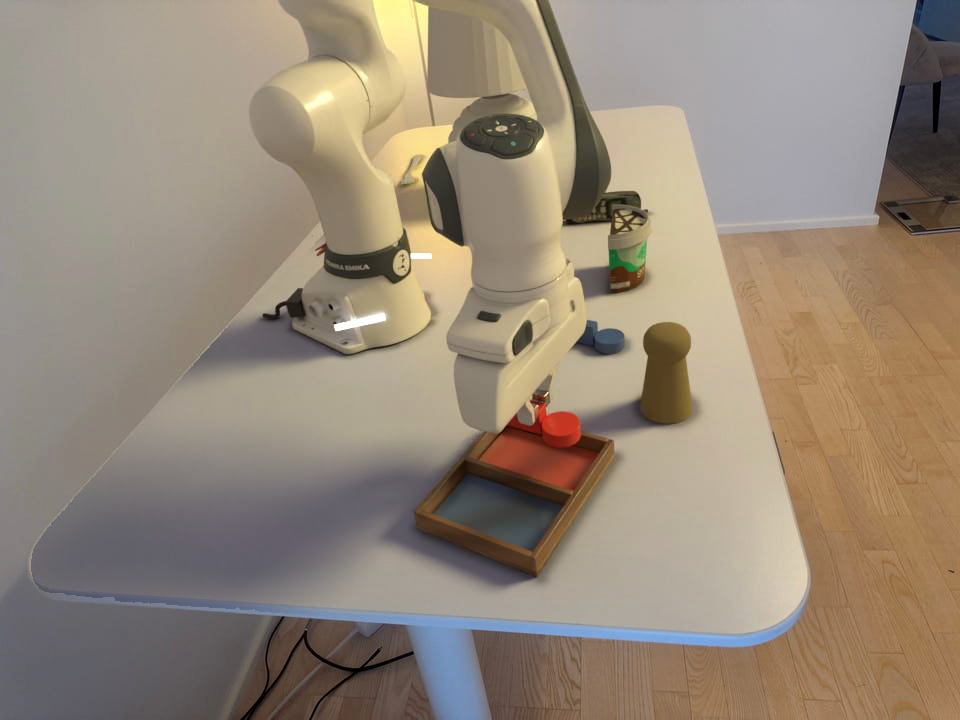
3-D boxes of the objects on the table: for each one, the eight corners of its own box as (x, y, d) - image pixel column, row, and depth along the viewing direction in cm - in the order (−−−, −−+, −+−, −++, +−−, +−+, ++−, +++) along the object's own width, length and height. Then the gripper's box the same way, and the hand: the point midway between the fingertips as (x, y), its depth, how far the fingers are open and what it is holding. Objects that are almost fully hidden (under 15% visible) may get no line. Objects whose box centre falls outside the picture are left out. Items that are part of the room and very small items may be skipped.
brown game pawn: (655, 387, 88) (655, 310, 82) (701, 401, 85) (705, 322, 79) (630, 413, 85) (628, 335, 79) (677, 430, 81) (679, 349, 75)
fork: (424, 155, 179) (423, 148, 178) (412, 190, 159) (410, 182, 158) (412, 156, 179) (410, 149, 178) (397, 192, 159) (396, 184, 158)
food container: (651, 297, 107) (651, 235, 101) (609, 297, 108) (607, 236, 103) (652, 259, 116) (652, 201, 111) (613, 260, 118) (612, 203, 112)
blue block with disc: (544, 340, 101) (542, 322, 99) (556, 326, 103) (555, 308, 102) (617, 356, 95) (617, 337, 93) (629, 341, 98) (628, 322, 96)
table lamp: (592, 183, 148) (583, -35, 126) (511, 229, 134) (485, -8, 112) (502, 167, 164) (479, -30, 142) (421, 206, 150) (382, -6, 128)
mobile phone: (564, 201, 129) (648, 191, 127) (563, 195, 132) (646, 185, 130) (566, 227, 132) (649, 217, 130) (566, 220, 135) (647, 210, 132)
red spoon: (479, 425, 78) (475, 403, 76) (497, 404, 81) (494, 382, 79) (570, 451, 73) (568, 429, 71) (587, 428, 75) (585, 405, 74)
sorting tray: (417, 529, 74) (413, 511, 72) (505, 426, 86) (503, 409, 84) (537, 577, 67) (535, 558, 65) (614, 458, 79) (614, 439, 77)
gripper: (542, 246, 76) (553, 354, 84) (434, 345, 62) (458, 464, 70) (597, 253, 73) (603, 365, 80) (496, 359, 59) (514, 482, 67)
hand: (535, 412), depth 75 cm, fingers closed on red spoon, 2 cm apart
